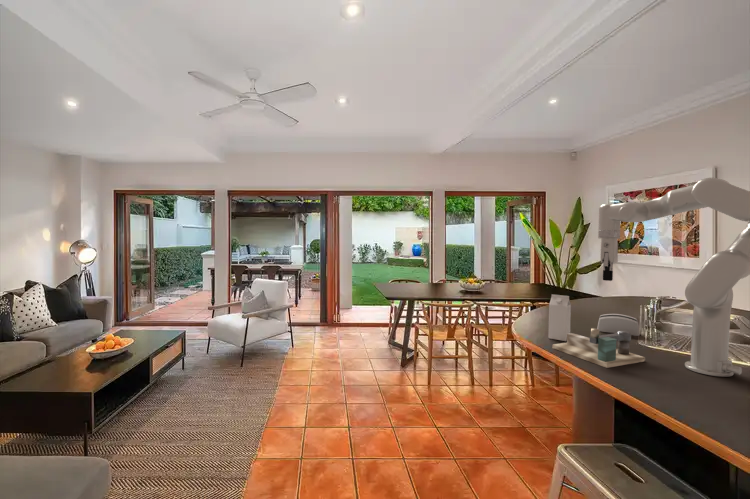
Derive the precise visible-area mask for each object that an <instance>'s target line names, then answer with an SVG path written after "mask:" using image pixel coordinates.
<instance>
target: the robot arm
mask: <svg viewBox="0 0 750 499" xmlns="http://www.w3.org/2000/svg"><path fill="white" fill-rule="evenodd" d="M705 208H706V209H707V208H709V209H713V210H715V211H716V212H720V213H722V214H724V215H726V216H729V217H731V218H733V219H735V220H739V221H742V222H747V224H746V226H745V228H744V229H743V230H742V231H741V232H740V233H739V234H738V235H737V236H736V238H735V239H734V240H733V241H732V243H730V245H729V246H728V247H727V248H726V249H725V250H723V251H718V252H716V253H714V254H712V256H710V257H709V258H708V259H707V260H706V261H705V263H704V264H702V266H701V267H700V268H699V270H698V271H697V273H696V274H694V276H693V277H692V279H690V281H689V282H688V283H687V285H686V287H685V290H684V296H685V298H686V300H687V302H688V303H689V304H690V305H692V306H693V312H692V322H691V324H692V325H691V326H692V327H691V349H690V350H691V351H690V360H688V361H685V362H684V366H685V368H686V369H688V370H690V371H693V372H695V373H698V374H703V375H708V376H711V377H712V376H713V377H723V378H724V377H726V378H727V377H733V376H734V374H735V375H742V373H743V368H742V367H740V366H737V365H733V360H731V359H729V350H730V349H729V346H730V328H731V313H732V305H733V301H734V300H733V299H734V292H733V288H734V287H735V286H736V284H738V282H739V281H740V280H742V279H744V278H746V277H748V276H750V191H749V190H748V189H747V190H746V189H744V188H742V187H739V186H736V185H733V184H731V183H730V182H728V181H727V180H725V179H723V178H722V179H721V178H719V177H718V178H717V177H706V178H705V177H704V178H703V179H701V180H698V181H697V182H696V183H695V184H692V185H687V186H683V187H680V188H676V189H671V190H669V191H668V192H666V194H664V195H663V196H661V197H658V198H654V199H649V200H647V201H642V202H634V201H633V202H632V201H631V202H629V201H626V202H625V201H624V202H621V203H604V204H601V205H600V206H599V208H598V229H597V230H598V232H597V233H598V235H597V238H598V239H600V241H601V242H600V262H601V264H603V265H602V266H603V270H602V280H603V281H606V282H611V281H613V280H614V279H613V277H614V276H613V275H614V271H613V270H614V267H613V265H614V264H616V263H618V261H619V255H618V254H619V253H618V252H619V251H618V250H619V248H618V246H619V244H618V240H619V239H621V222H625V223H641V222H648V221H651V220H656V219H661V218H664V217H668V216H669V217H670V216H674V215H678V214H683V213H687V212H692V211H695V210H699V209H700V210H701V209H705Z"/></svg>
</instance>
